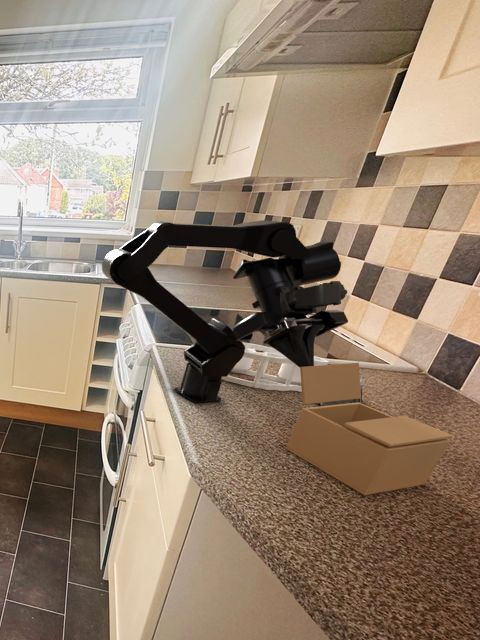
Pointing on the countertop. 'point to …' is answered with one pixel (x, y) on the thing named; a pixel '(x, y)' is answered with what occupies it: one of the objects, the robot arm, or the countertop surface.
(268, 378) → the skeletal toy car
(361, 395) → the grey angular piece
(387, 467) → the carton
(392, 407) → the countertop surface
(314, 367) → the flap
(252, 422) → the countertop surface
